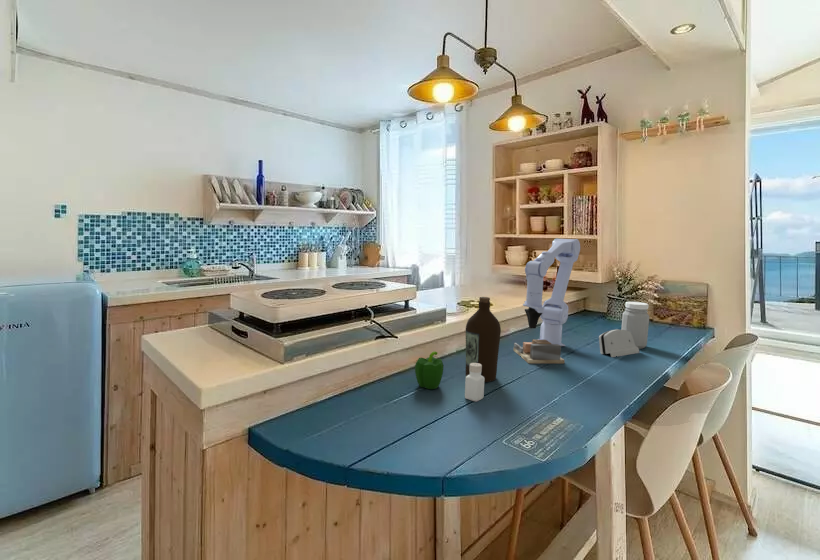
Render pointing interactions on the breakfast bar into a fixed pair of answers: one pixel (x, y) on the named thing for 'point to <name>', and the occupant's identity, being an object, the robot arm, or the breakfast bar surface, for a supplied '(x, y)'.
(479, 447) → the breakfast bar surface
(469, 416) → the breakfast bar surface
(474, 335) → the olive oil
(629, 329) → the jar
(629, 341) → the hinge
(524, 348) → the block
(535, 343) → the block
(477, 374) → the white pill bottle
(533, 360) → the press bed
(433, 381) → the bell pepper
